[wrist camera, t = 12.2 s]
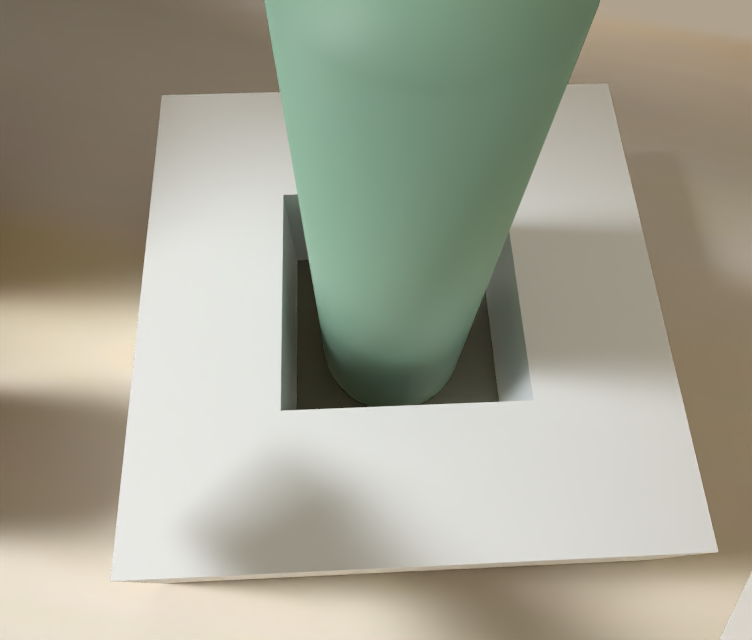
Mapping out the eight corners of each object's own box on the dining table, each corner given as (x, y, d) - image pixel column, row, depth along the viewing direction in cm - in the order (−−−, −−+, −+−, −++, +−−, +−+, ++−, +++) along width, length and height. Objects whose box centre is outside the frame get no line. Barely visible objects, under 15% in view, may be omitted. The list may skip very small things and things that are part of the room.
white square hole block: (162, 583, 18) (110, 581, 15) (193, 172, 24) (162, 95, 20) (649, 560, 19) (718, 552, 15) (571, 160, 24) (608, 82, 20)
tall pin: (325, 412, 20) (254, 98, 7) (323, 286, 22) (263, -147, 9) (464, 406, 20) (634, 88, 8) (452, 282, 22) (572, -152, 9)
